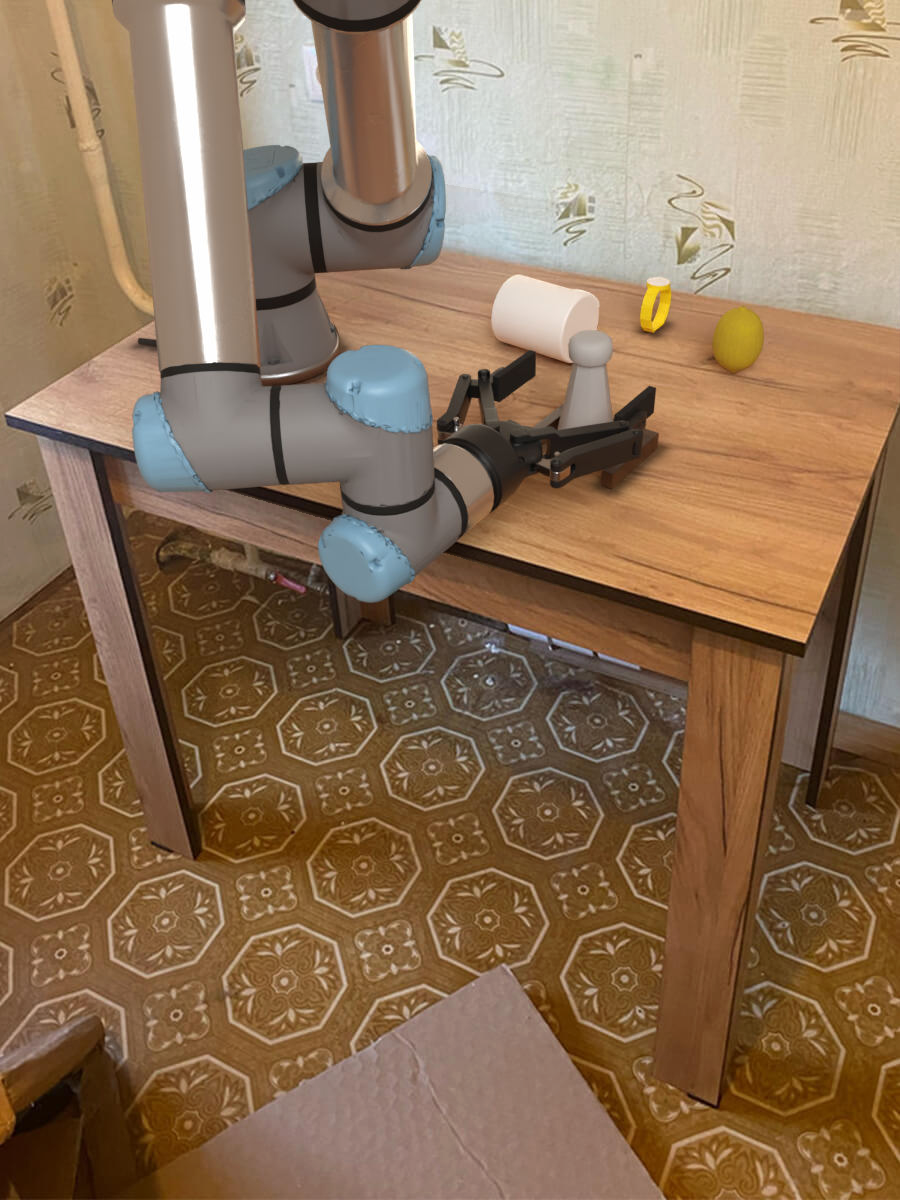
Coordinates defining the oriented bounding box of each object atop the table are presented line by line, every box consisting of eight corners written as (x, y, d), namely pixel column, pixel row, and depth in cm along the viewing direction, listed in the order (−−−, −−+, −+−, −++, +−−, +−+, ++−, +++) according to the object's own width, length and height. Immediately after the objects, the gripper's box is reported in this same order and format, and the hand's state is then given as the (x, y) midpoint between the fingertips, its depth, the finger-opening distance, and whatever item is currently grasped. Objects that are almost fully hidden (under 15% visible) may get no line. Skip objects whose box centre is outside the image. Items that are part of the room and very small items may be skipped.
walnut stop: (515, 454, 114) (516, 439, 113) (564, 416, 120) (564, 402, 118) (611, 489, 108) (612, 474, 107) (657, 447, 114) (659, 432, 113)
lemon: (737, 389, 123) (746, 322, 117) (698, 372, 126) (706, 306, 121) (768, 372, 125) (779, 306, 120) (730, 356, 129) (738, 291, 123)
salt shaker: (545, 454, 114) (548, 338, 106) (578, 431, 117) (583, 316, 109) (591, 473, 111) (598, 355, 102) (624, 449, 114) (633, 333, 106)
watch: (653, 340, 132) (658, 293, 129) (632, 335, 134) (636, 288, 130) (674, 320, 136) (679, 274, 132) (653, 316, 137) (657, 270, 134)
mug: (560, 374, 127) (562, 309, 122) (490, 351, 132) (489, 288, 127) (616, 335, 134) (620, 272, 129) (548, 314, 139) (549, 253, 134)
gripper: (358, 472, 105) (487, 381, 117) (584, 563, 93) (701, 450, 105) (350, 403, 100) (486, 315, 113) (587, 488, 88) (710, 379, 101)
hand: (590, 380), depth 109 cm, fingers open, 13 cm apart
